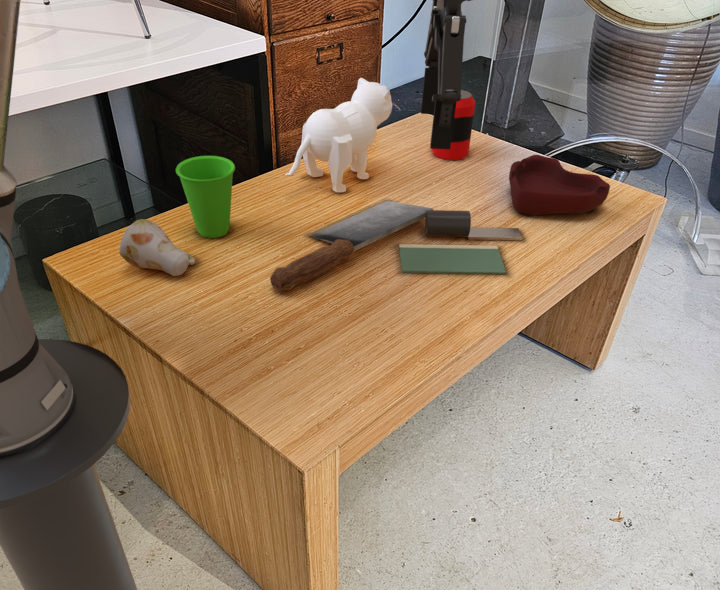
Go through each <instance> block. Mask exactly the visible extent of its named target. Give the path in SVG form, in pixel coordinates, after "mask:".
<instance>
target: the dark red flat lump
mask: <svg viewBox="0 0 720 590" xmlns="http://www.w3.org/2000/svg"><path fill="white" fill-rule="evenodd" d="M508 182H509V187H510V196H511V197H510V198H511V201H512V207H513V209H514V210H515V211H516V212H517V213H518V214H519V215H522V216H525V217H527V216H529V217H530V216H534V215H535V216H537V215H539V216H540V215H551V214H552V215H554V214H584V213H593V212H594V211H595V209H597V208H599V207H600V206H601V205H603V204H604V202H605V201H606V200H607V198H608V196H609V193H610V189H611V185H610V183H608V182H606V181H605V180H604V179H603V178H602V177H600V176H599V175H597V174H590V173H579V172H573V171H569V170H567V169H565V168H564V167H563V166H562V164H561V163H560V160H559V159H558V158H554V157H548V156H543V155H540V154H532V155H529V156H528V157H525V158H523V159H521V160H517V161H514V162H513V163H511V166H510V169H509V173H508Z"/></svg>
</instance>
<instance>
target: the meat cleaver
mask: <svg viewBox="0 0 720 590" xmlns="http://www.w3.org/2000/svg"><path fill="white" fill-rule="evenodd" d="M427 210H434V208H432V207H426V206H420V205H416V204H415V205H414V204H408V203H402V202H396V201H391V200H385V201H383V202H381V203H378V204H377V205H375V206H372V207H370V208H368V209H365V210H363V211H361V212H359V213H356V214H355V215H352V216H349V217H347V218H346V219H343V220H341V221H338V222H337V223H334V224H332V225H330V226H327V227H325V228H323V229H321V230H319V231H316V232H314V233H312V234H310V235H309V237H310V238H314V239H317V240H320V241H323V242H326V243H329V244H330V245H326V246H323V247H320V248H318V249H316V250H314V251H312V252H310V253H308V254H306V255H303V256H302V257H299V258H298V259H295V260H293V261H291V262H290V263H289V264H287V265H286V266H283V267H281V266H280V267H277V268H275V269H274V271H273V272H272V274H271V276H270V278H269V279H270V284H271V286H272V288H273V289H274V290H275V291H278V292H290V291H291V289H293V287H294V286H295V285H300V284H304V283H306V282H308V281H310V280H312V279H314V278H316V277H318V276H320V275H322V274H324V273H326V272H328V271H330V270H331V269H333V268H335V267H337V266H338V265H339V264H344V263H348V262H349V261H350V260H351V258H352V257H353V255H354V253H355V251H357V250H360V249H361V248H364V247H366V246H368V245H370V244H372V243H375V242H377V241H378V240H381V239H383V238H385V237H387V236H389V235H391V234H393V233H395V232H398V231H400V230H402V229H404V228H406V227H408V226H410V225H412V224H414V223H416V222H419V221H421V220H423V219H425V214H426V211H427Z"/></svg>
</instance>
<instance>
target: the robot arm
mask: <svg viewBox="0 0 720 590" xmlns="http://www.w3.org/2000/svg"><path fill="white" fill-rule="evenodd" d="M21 1H22V0H0V458H5V457H9V456H13V455H16V454H19V453H21V452H24V451H26V450H29V449H31V448H33V447H35V446H37V445H39V444H40V443H42V442H44V441H45V440H47V439H48V438H50V437H51V436H52V435H53V434H55V433H56V432H57V431H58V430H59V429H60V428H61V427H62V426H63V425H64V424H65V423H66V421H67V420H68V419H69V417H70V415H71V413H72V411H73V409H74V406H75V392H74V389H73V386H72V383H71V380H70V378H69V377H68V375H67V373H66V372H65V371H64V369H63V368H62V367H61V366H60V365H59V364H58V363H57V362H56V361H55V360H54V358H53V357H52V356H51V355H50V354H49V353H48V352H47V351H46V350H45V349H44V348H43V346H42V345H41V344H40V343H39V341H38V339H39V338H38V336H37V333H36V329H35V326H34V324H33V321H32V318H31V316H30V313H29V310H28V307H27V305H26V301H25V299H24V296H23V293H22V290H21V286H20V283H19V278H18V272H17V268H16V267H17V265H16V260H15V254H14V248H13V243H12V235H13V234H12V233H13V222H14V212H15V204H16V193H17V187H18V182H17V179H16V177H15V175H13V173H12V172H11V171H10V170H9V169H8V168H7V167H6V166H5V164H4V163H5V156H6V155H5V153H6V146H7V145H6V143H7V136H8V135H7V134H8V127H9V126H8V125H9V116H10V107H11V96H12V88H13V78H14V68H15V61H16V60H15V58H16V51H17V50H16V49H17V39H18V28H19V22H20V21H19V20H20V12H21V11H20V9H21ZM471 1H473V0H432V4H431V5H432V7H431V12H430V19H429V24H428V25H429V26H428V32H427V38H426V43H425V50H424V52H423V56H424V58H425V60H424V65H425V68H424V75H423V85H422V94H421V106H420V114H421V115H433V116H432V117H433V118H432V125H431V126H432V127H431V134H430V135H431V136H430V145H429V148H430V149H431V150H432V149H450V147H451V140H452V132H453V125H454V117H455V110H456V102H457V101H460V99H461V90H462V75H463V59H464V58H463V57H464V43H465V30H466V24H467V17H466V15H463V12H462V3H464V2H471ZM451 89H452V91H446V90H451Z"/></svg>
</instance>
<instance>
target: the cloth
mask: <svg viewBox="0 0 720 590" xmlns="http://www.w3.org/2000/svg"><path fill="white" fill-rule="evenodd" d="M398 250H399V257H400V265H401V273H403V274H442V275H443V274H451V275H452V274H456V275H464V274H465V275H507V271H506V268H505V265H504V262H503V259H502V255H501V253H500V250H499V247H498V245H487V244H486V245H483V244H482V245H481V244H479V245H478V244H422V243H421V244H417V243H416V244H415V243H412V244H411V243H409V244H408V243H406V244H405V243H399V244H398Z"/></svg>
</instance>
